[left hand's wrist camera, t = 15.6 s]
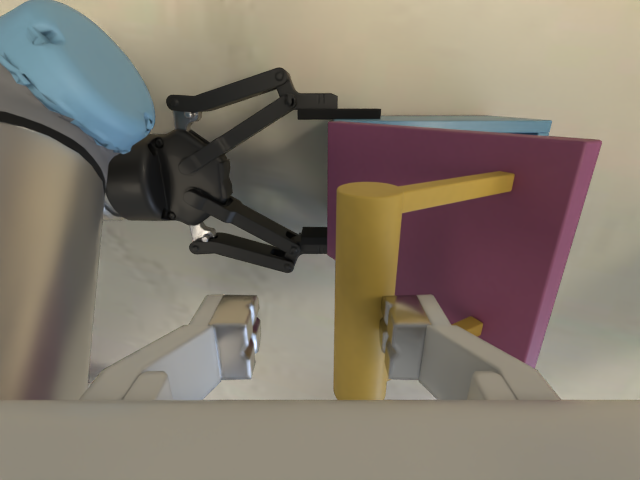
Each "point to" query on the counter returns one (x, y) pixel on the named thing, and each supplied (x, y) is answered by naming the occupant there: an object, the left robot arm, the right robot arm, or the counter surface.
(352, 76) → the counter surface
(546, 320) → the lid
